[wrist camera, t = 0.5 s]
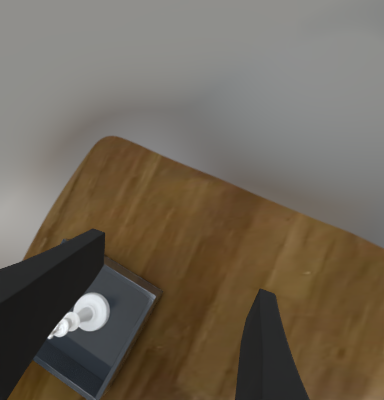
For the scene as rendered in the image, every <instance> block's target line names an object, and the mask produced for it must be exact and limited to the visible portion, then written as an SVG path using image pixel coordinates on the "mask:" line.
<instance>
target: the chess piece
mask: <svg viewBox="0 0 384 400" xmlns="http://www.w3.org/2000/svg"><path fill="white" fill-rule="evenodd" d="M109 315H110V307H109V304H108V301H107V300H106V298H105V297H104V296H102V295H101V294H99V293H87V294H85V295H84V296H82V297H81V298H80V299H79V300H78V301H77V302H76V304H75V306H74V310H73V312H69V313H67V314H66V315H65V316H64V317H63V319H62V320H61V321H60V322H59V323H58V325H57V326H56V327H55V328H54V330H53V331H52V332H51V334H50V335H49V337H48V339H51V338H52V337H53V336H54V335H55V336H57V337H62V336H64V335H65V334H66V333H67V332H68V331H74V330H76V329H77V328H78V327H80V328H81V329H83V330H85V331H95V330H98V329H100V328H102V327H103V326H104V325H105V324H106V322H107V321H108V318H109Z"/></svg>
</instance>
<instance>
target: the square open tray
mask: <svg viewBox="0 0 384 400" xmlns="http://www.w3.org/2000/svg"><path fill="white" fill-rule="evenodd" d="M69 240H71V239H63V241H62V242H61V244H62V243H64V242H66V241H69ZM87 293H99V294H101V295H102V296H104V297H105V298H106V300H107V301H108V304H109V307H110V315H109V318H108V321H107V322H106V324H105V325H104V326H103V327H102V328H100V329H98V330H95V331H85V330H83V329H81V328H80V327H78V328H77V329H76V330H74V331H68V332H67V333H66V334H65V335H64V336H62V337H57V336H55V335H54V336H53V337H52V338H51V339H48V338H47V339H46V341H45V342H44V344H43V345H42V347H41V348H40V349H39V351H38V352H37V354H36V355H35V357H34V358H33V360H34V361H35V362H36V363H38V364H39V365H40V366H42V367H43V368H45V369H46V370H47V371H49V372H50V373H51V374H53V375H54V376H56V377H57V378H58V379H60V380H61V381H62V382H64V383H65V384H67V385H68V386H69V387H71V388H72V389H73V390H75V391H76V392H78V393H79V394H80V395H82V396H83V397H84V398H86V399H87V400H101V399H102V398H103V396H104V395H105V394H106V393H107V392H108V390H109V389H110V387H111V385H112V384H113V382H114V380H115V378H116V376H117V375H118V373H119V371H120V369H121V367H122V366H123V364H124V362H125V360H126V358H127V356H128V355H129V353H130V351H131V349H132V347H133V346H134V344H135V342H136V340H137V338H138V337H139V335H140V333H141V331H142V329H143V327H144V326H145V324H146V322H147V320H148V318H149V317H150V315H151V313H152V311H153V309H154V307H155V306H156V304H157V302H158V300H159V298H160V297H161V295H162V293H163V291H162V290H160V289H159V288H157V287H156V286H154V285H152V284H151V283H149V282H147V281H146V280H144V279H142V278H141V277H139V276H138V275H136V274H134V273H133V272H131V271H129V270H128V269H126V268H125V267H123V266H121V265H120V264H118V263H116V262H115V261H113V260H112V259H110V258H108V257H107V256H105V255H104V266H103V268H102V269H101V271H100V272H99V274H98V275H97V277H96V278H95V280H94V281H93V283H92V284H91V285H90V287H89V288H88V289H87V290H86V292H85V293H84V294H83V295H82V296H84V295H85V294H87ZM82 296H81V297H82ZM81 297H80V298H81ZM75 304H76V303H75ZM74 306H75V305H74ZM74 306H73V307H72V308H71V309H70V310H69V312H73V310H74ZM69 312H68V313H69Z"/></svg>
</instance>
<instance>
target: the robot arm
mask: <svg viewBox="0 0 384 400" xmlns="http://www.w3.org/2000/svg"><path fill="white" fill-rule="evenodd" d="M104 249H105V233H104V232H102V231H99V230H96V229H91V230H89V231H87V232H85V233H83V234H81V235H79V236H77V237H75V238H73V239H71V240H69V241H66V242H64V243H62V244H60V245H58V246H56V247H54V248H52V249H50V250H48V251H45V252H43V253H40V254H38V255H36V256H33V257H31V258H29V259H26V260H24V261H21V262H19V263H16V264H13V265H11V266H8V267H5V268H2V269H0V400H7V398H8V397H9V395H10V394H11V392H12V391H13V389H14V387H15V386H16V384H17V383H18V381H19V379H20V378H21V376H22V375H23V373H24V372H25V370H26V369H27V367H28V366H29V364H30V363H31V361H32V360H33V358H34V357H35V355H36V354H37V352H38V351H39V349H40V348H41V347H42V345H43V344H44V342H45V341H46V339H47V338H48V337H49V335H50V334H51V332H52V331H53V330H54V328H55V327H56V326H57V325H58V323H59V322H60V321H61V320H62V319H63V317H64V316H65V315H66V314H67V313H68V312H69V310H70V309H71V308H72V307H73V306H74V305H75V303H76V302H77V301H78V300H79V299H80V297H81V296H82V295H83V294H84V293H85V292H86V290H87V289H88V288H89V287H90V285H91V284H92V283H93V281H94V280H95V278H96V277H97V275H98V274H99V272H100V271H101V269H102V268H103V266H104ZM235 400H309V397H308V395H307V393H306V390H305V388H304V386H303V383H302V381H301V379H300V376H299V374H298V371H297V368H296V366H295V363H294V360H293V357H292V354H291V352H290V349H289V345H288V342H287V339H286V336H285V332H284V329H283V325H282V322H281V318H280V314H279V309H278V305H277V299H276V296H275V294H274V293H271V292H268V291H266V290H263V289H259V292H258V294H257V296H256V298H255V300H254V303H253V305H252V307H251V309H250V311H249V314H248V316H247V318H246V322H245V326H244V331H243V335H242V340H241V347H240V357H239V366H238V376H237V386H236V396H235Z"/></svg>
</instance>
